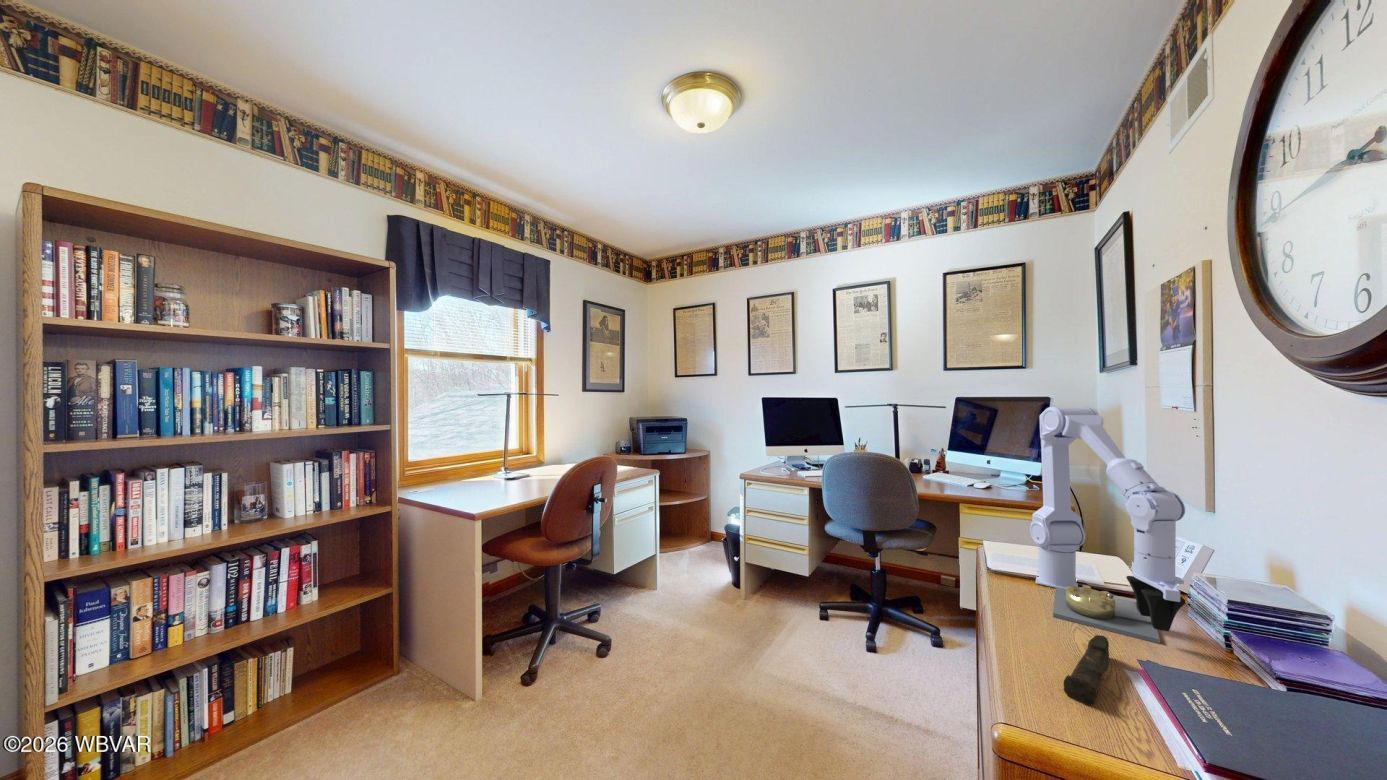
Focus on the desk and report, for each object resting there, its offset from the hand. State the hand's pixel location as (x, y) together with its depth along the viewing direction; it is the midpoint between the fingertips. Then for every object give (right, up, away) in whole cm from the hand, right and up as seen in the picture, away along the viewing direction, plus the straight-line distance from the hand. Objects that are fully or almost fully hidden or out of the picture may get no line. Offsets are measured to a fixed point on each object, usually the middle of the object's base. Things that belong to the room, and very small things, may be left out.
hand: (1153, 622), depth 90 cm
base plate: (-2, -3, +9) cm, 9 cm away
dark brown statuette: (-23, -4, -12) cm, 26 cm away
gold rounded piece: (-3, -2, +7) cm, 8 cm away
